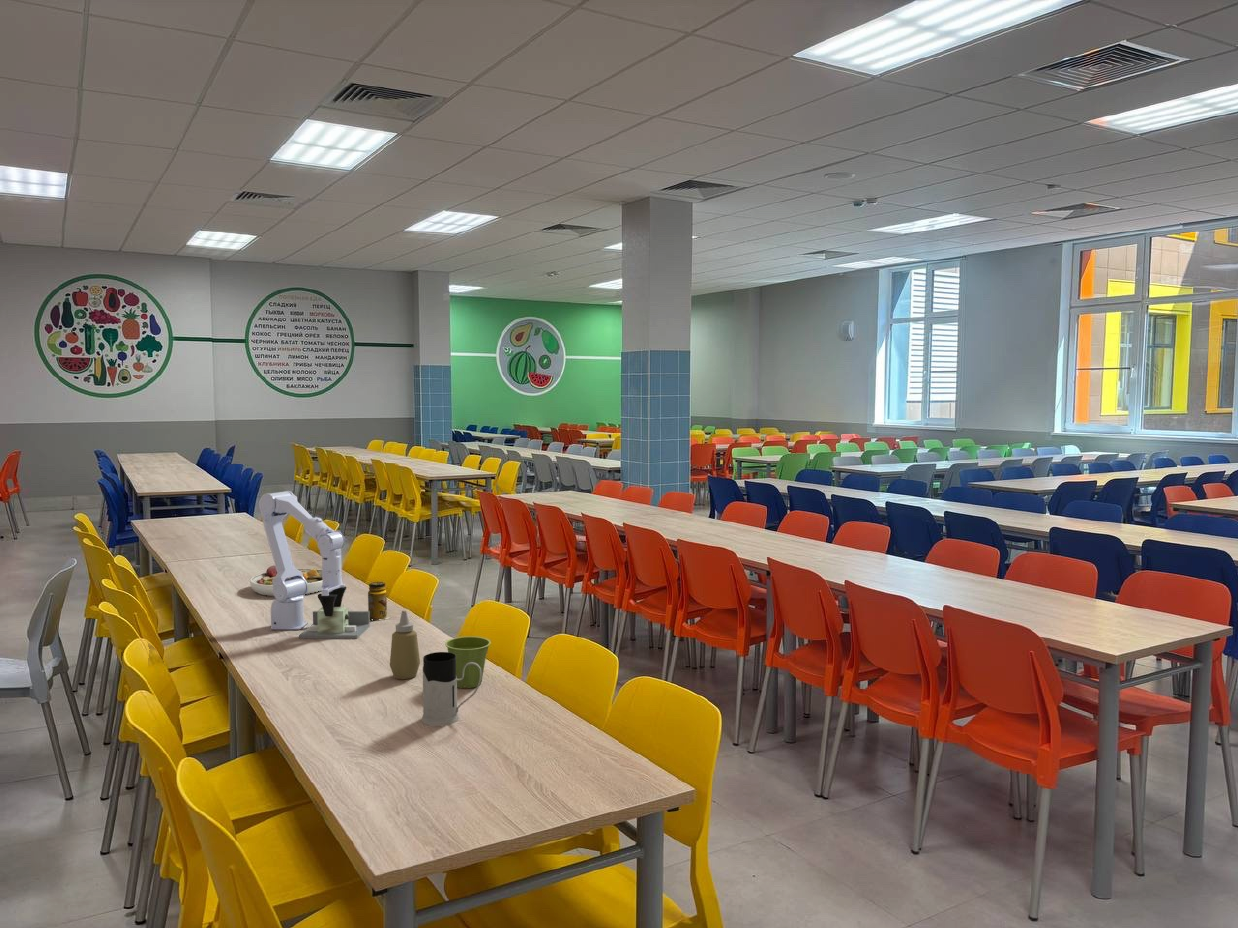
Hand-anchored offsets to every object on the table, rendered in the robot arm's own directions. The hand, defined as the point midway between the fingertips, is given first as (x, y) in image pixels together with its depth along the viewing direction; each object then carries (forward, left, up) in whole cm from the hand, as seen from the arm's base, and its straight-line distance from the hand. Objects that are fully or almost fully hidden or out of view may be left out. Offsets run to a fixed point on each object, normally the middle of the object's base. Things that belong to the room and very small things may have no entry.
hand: (332, 612), depth 271 cm
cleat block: (0, 0, -6) cm, 6 cm away
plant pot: (+50, -46, -7) cm, 68 cm away
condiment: (+8, +19, -7) cm, 22 cm away
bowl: (-35, +61, -7) cm, 71 cm away
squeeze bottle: (+32, -40, -7) cm, 52 cm away
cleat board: (0, +2, -7) cm, 7 cm away
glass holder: (+50, -70, -7) cm, 86 cm away
